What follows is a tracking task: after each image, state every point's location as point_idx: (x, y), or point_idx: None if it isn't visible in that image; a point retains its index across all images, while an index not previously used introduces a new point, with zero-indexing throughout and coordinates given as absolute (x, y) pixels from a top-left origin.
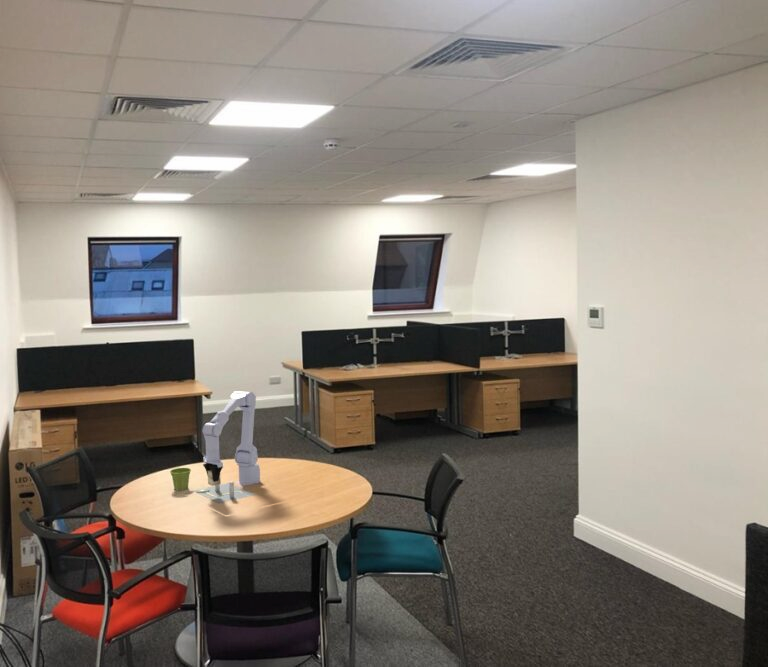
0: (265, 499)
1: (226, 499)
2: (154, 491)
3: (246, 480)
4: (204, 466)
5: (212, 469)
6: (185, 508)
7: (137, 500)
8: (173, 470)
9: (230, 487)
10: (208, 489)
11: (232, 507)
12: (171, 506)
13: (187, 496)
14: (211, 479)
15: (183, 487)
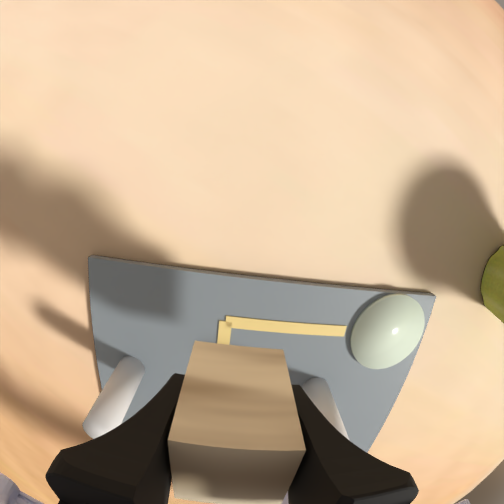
0: (56, 419)
1: (120, 330)
2: None
3: (283, 500)
4: (376, 474)
5: (64, 449)
6: (180, 61)
7: (485, 37)
8: None
9: (99, 397)
10: (370, 362)
11: (20, 274)
12: (290, 29)
13: (397, 217)
14: (202, 379)
15: (491, 275)
